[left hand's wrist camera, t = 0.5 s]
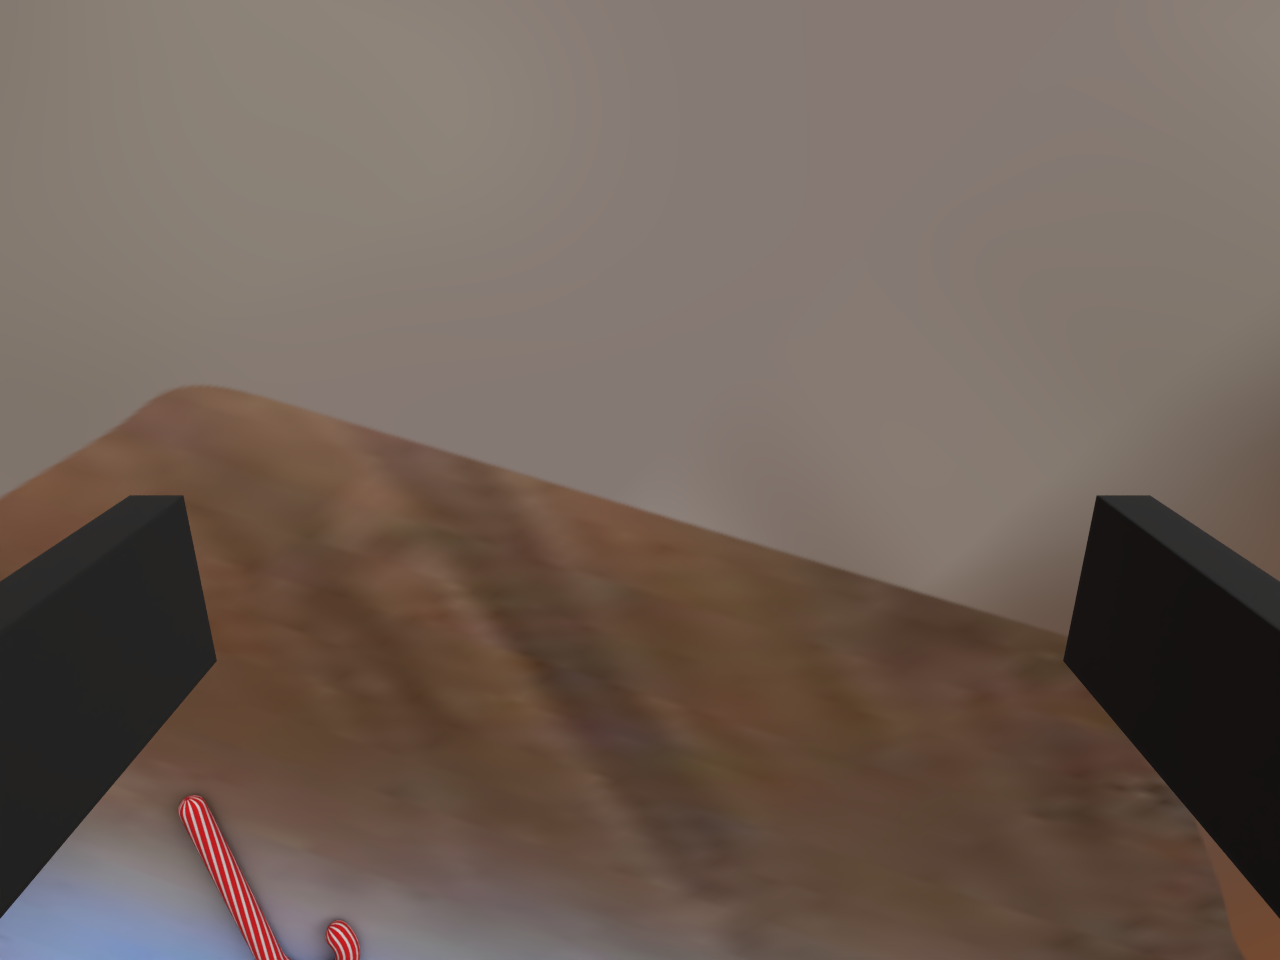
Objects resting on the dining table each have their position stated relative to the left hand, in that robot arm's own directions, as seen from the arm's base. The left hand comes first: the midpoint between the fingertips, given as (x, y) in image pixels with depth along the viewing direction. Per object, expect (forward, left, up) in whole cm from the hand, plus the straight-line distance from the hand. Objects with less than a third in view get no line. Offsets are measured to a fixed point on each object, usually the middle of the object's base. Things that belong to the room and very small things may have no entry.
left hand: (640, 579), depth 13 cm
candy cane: (-35, +19, -27) cm, 48 cm away
